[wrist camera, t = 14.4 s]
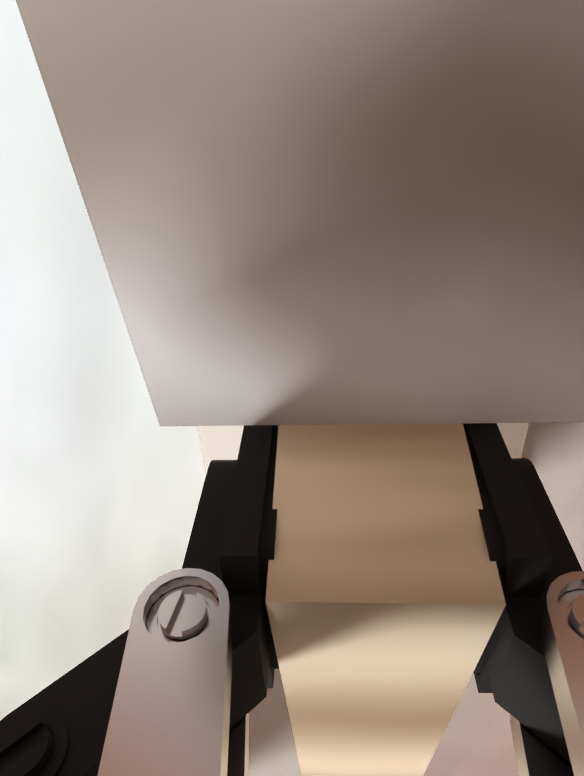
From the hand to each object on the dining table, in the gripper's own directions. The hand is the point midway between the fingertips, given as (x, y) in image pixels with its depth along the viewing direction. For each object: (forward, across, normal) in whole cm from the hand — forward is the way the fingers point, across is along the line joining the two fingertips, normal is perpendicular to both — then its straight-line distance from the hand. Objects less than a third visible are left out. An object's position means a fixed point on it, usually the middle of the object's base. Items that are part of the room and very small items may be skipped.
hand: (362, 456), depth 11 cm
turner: (0, 0, -1) cm, 1 cm away
